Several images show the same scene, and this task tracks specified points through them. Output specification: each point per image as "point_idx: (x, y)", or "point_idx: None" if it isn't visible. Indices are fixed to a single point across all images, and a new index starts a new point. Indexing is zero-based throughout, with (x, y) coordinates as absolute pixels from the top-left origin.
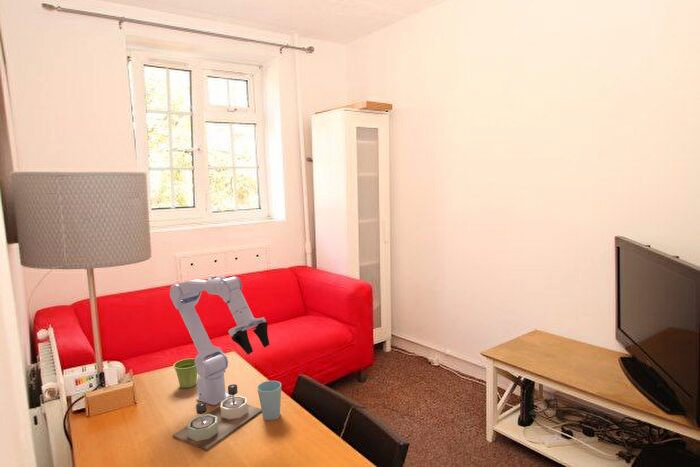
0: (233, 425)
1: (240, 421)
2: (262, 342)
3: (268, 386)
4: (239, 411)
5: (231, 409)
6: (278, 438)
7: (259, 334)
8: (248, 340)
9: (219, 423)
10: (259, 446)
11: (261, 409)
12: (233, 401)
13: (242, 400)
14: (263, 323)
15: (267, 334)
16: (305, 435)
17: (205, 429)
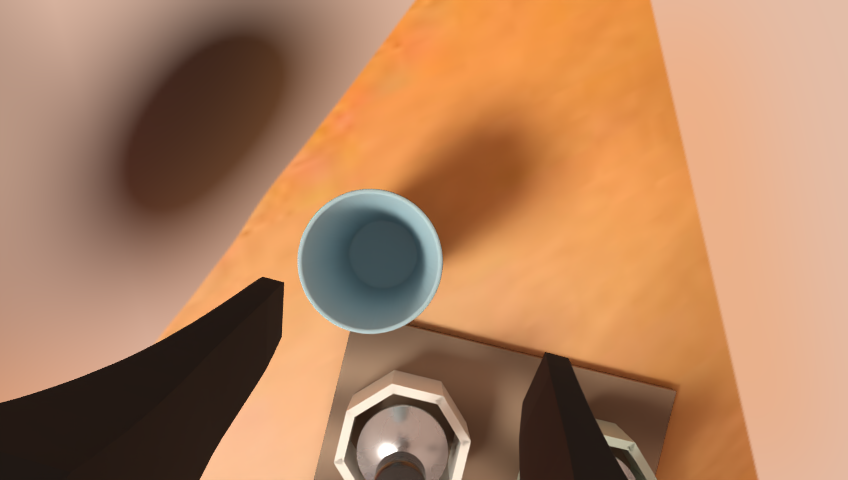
0: (505, 375)
1: (469, 362)
2: (250, 380)
3: (323, 293)
4: (443, 390)
5: (462, 427)
6: (534, 146)
7: (183, 472)
8: (580, 467)
9: (504, 445)
10: (600, 197)
11: None
12: (408, 452)
13: (375, 417)
14: (47, 476)
15: (169, 338)
16: (490, 44)
17: (638, 450)
